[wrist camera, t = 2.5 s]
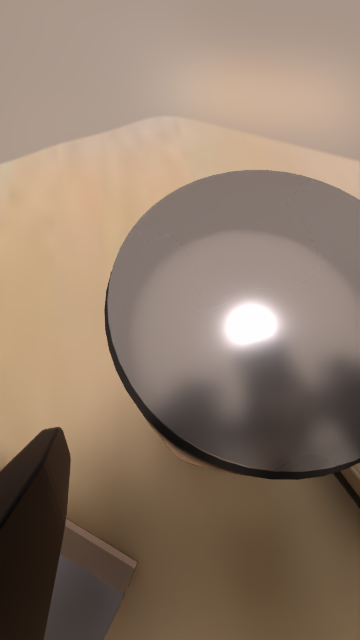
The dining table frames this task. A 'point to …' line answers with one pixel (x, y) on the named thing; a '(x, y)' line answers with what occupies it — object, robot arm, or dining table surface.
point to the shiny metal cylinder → (244, 323)
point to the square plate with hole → (86, 586)
